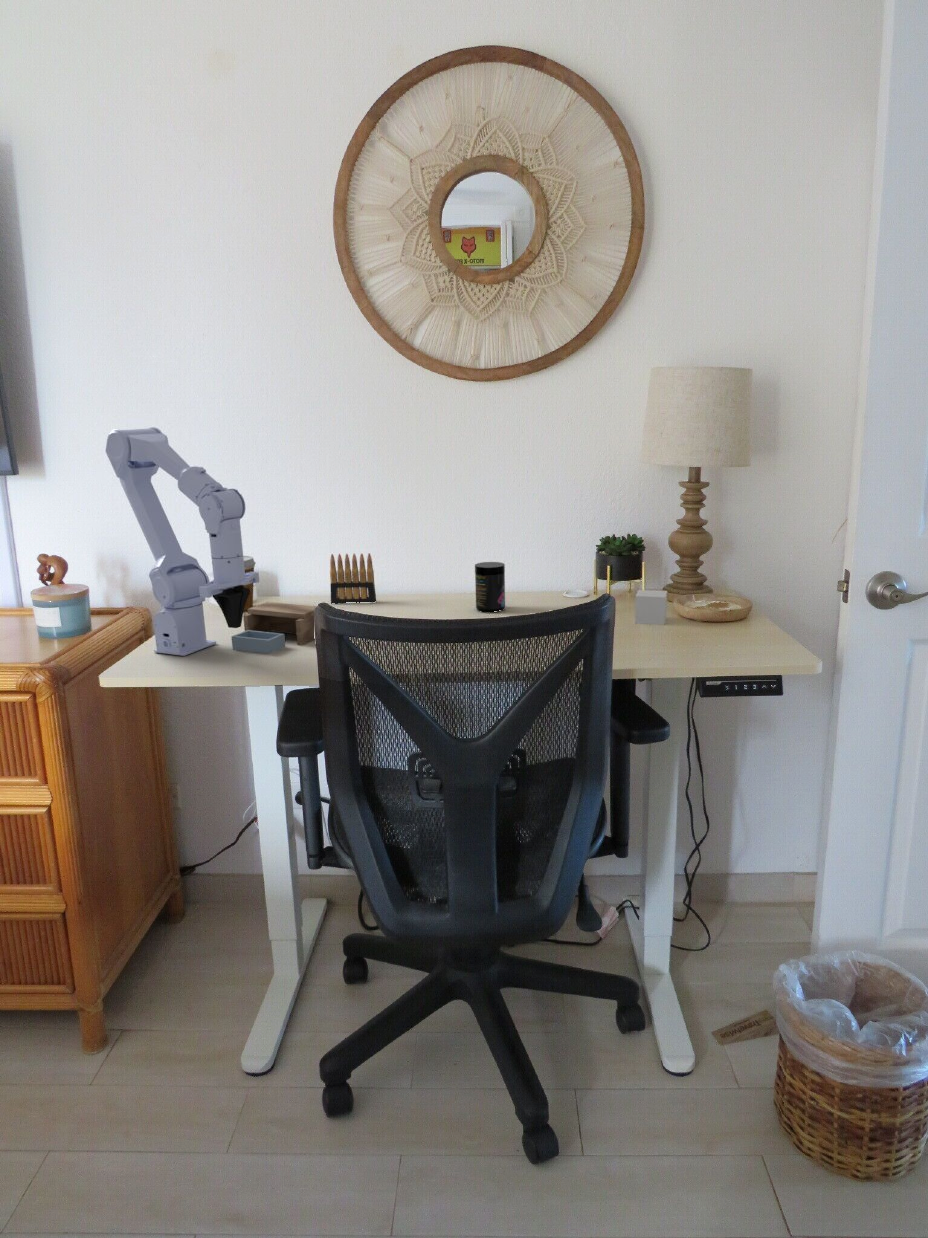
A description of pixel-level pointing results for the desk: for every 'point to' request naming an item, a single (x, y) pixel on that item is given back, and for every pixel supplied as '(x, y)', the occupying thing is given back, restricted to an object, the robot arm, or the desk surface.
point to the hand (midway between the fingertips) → (234, 626)
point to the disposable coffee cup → (249, 567)
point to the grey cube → (650, 607)
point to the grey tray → (258, 641)
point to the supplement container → (490, 586)
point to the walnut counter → (282, 619)
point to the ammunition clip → (352, 580)
